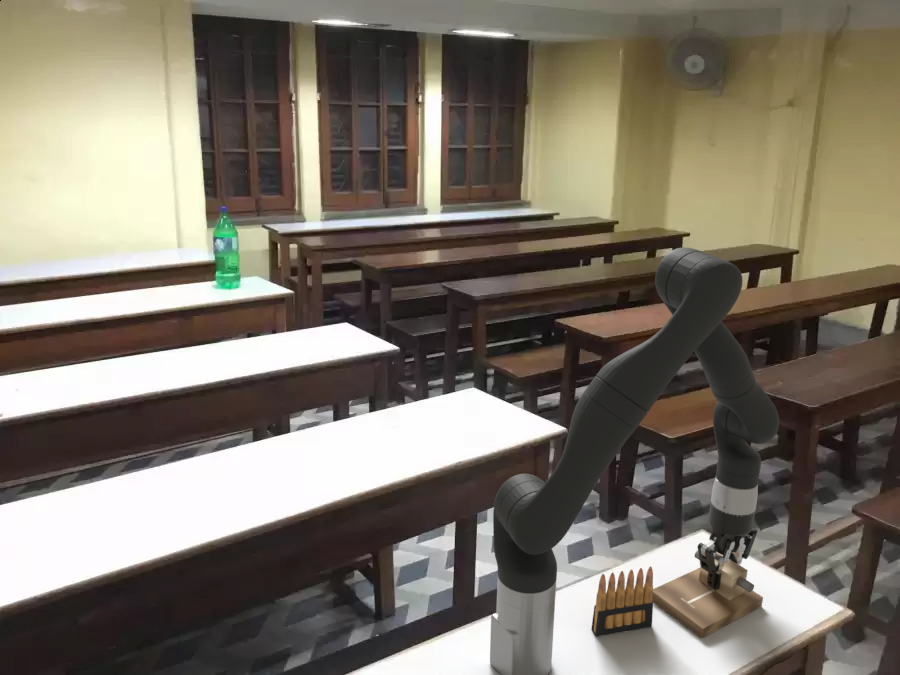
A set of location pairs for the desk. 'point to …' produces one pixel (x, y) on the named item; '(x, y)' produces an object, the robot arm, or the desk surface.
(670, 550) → the desk surface
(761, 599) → the walnut board
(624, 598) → the ammunition clip
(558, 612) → the desk surface
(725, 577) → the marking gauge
